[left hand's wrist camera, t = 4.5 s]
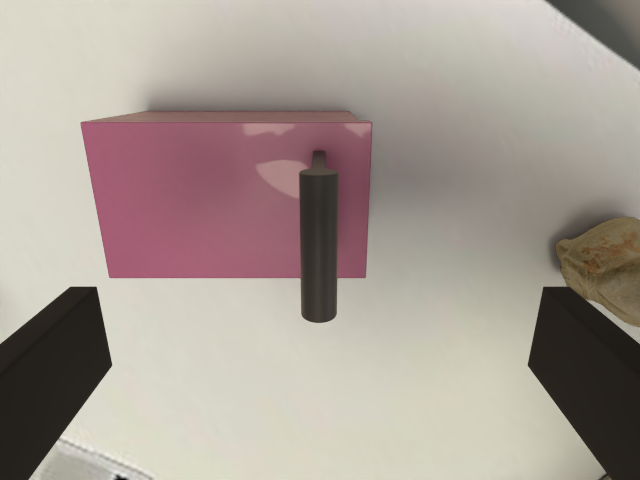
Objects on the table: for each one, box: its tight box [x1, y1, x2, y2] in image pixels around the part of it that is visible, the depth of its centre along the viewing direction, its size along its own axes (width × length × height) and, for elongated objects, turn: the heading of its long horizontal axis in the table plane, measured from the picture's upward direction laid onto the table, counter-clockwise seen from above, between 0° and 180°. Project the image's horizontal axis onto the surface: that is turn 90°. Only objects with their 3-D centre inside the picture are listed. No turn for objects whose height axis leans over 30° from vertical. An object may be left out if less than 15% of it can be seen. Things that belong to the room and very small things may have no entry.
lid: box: [81, 121, 372, 323], centre depth 22 cm, size 16×10×9 cm, turn 90°
